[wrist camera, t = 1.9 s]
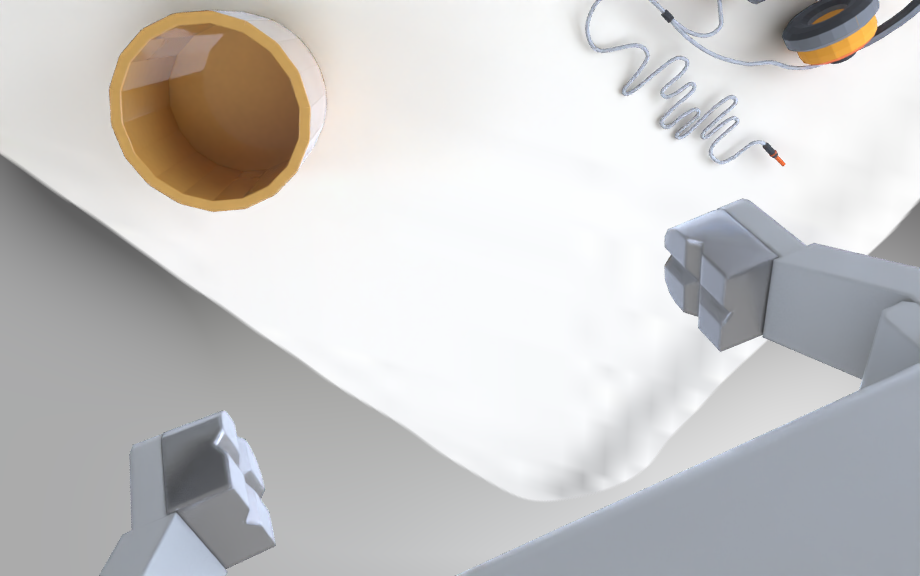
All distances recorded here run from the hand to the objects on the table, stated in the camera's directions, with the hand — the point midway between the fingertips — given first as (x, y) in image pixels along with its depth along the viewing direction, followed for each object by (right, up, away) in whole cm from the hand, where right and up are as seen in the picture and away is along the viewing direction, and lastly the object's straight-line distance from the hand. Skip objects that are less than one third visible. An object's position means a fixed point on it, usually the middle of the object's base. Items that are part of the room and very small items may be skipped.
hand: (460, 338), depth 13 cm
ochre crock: (-13, +13, +33) cm, 38 cm away
